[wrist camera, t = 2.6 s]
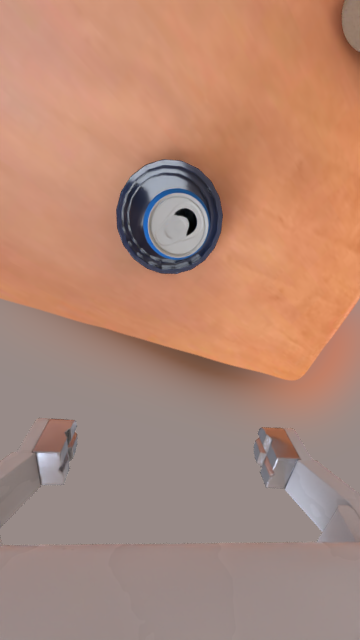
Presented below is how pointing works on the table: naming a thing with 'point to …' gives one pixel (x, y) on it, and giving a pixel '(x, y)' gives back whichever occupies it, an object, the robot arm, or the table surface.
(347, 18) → the ceramic mug
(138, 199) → the bowl
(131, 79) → the table surface
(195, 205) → the beverage can
